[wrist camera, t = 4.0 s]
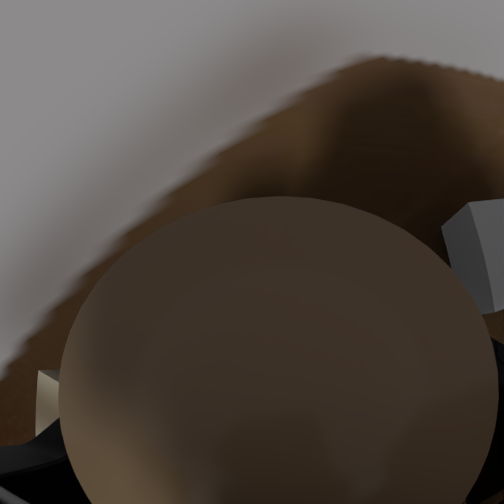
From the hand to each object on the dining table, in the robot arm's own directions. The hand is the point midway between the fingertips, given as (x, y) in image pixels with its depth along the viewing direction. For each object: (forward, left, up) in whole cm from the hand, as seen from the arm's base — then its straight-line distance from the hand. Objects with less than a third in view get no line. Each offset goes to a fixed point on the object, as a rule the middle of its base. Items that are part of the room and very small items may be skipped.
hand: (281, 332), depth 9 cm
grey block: (+8, -10, -7) cm, 15 cm away
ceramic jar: (-1, -1, -7) cm, 7 cm away
